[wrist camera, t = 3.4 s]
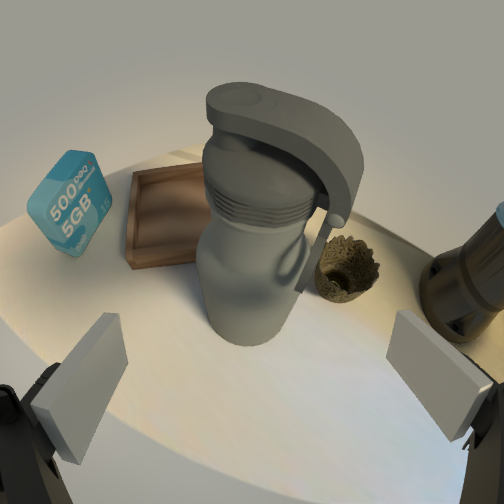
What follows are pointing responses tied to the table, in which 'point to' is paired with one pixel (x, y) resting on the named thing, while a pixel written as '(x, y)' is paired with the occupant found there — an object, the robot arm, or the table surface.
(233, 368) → the table surface
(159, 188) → the walnut tray
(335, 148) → the water bottle
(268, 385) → the table surface
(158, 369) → the table surface
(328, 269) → the cup
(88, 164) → the data package
